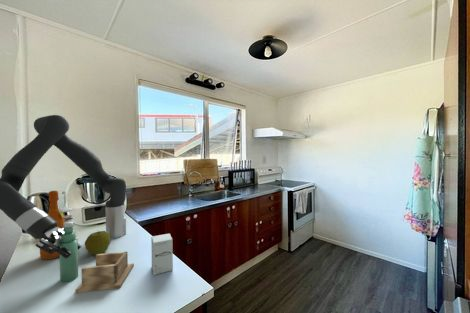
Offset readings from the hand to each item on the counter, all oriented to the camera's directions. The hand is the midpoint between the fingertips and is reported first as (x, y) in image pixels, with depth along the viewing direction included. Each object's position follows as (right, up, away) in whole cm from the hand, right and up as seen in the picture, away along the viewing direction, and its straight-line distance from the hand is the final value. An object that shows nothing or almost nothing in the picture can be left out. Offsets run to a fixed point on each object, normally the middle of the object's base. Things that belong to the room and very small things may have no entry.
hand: (74, 252), depth 75 cm
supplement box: (+31, -10, +6) cm, 33 cm away
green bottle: (-2, -10, 0) cm, 10 cm away
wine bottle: (-23, -10, +18) cm, 31 cm away
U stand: (+13, -9, 0) cm, 16 cm away
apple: (-4, -10, +19) cm, 22 cm away
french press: (-43, -10, +45) cm, 63 cm away
